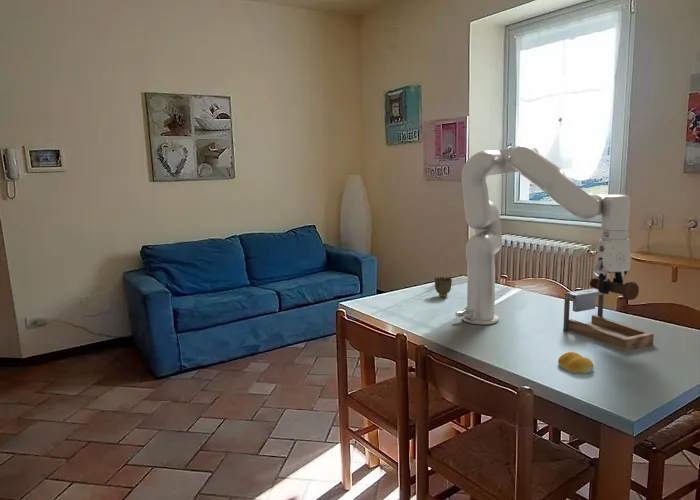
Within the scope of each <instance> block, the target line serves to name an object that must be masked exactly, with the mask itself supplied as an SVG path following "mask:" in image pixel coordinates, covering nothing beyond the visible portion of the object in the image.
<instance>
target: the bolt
mask: <svg viewBox="0 0 700 500" xmlns="http://www.w3.org/2000/svg"><path fill="white" fill-rule="evenodd" d="M608 282H609V293H614V294H619V295H622V296H623V299H624V300H627V301H633V300H635V299H637V297H638V295H639V291H640V289H639V286H638V285H639V284H638V283H636V282H634V281H630V282H625V283H623V284H620V283H616V282H613V281H611V279H610V278H609V279H608ZM599 283H600V280H598V278H597V277H596V278H591V279H590V281H589V286H590V287H591V288H592V289H593V288H594V289H597V290H598V291H599Z"/></svg>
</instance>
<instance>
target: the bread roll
mask: <svg viewBox="0 0 700 500" xmlns="http://www.w3.org/2000/svg"><path fill="white" fill-rule="evenodd" d="M557 363H558V365H559V366H560V368H561V369H563V370H566V371H567V372H569V373H571V374H577V375H578V374H579V375H585V374H586V375H587V374H589V373H592V372H593V370H594V362H593V361H592V360H591V359H590V358H588V357H583V355H581V354H579V353H578V352H576V351H575V352H574V351H569V352H565V353H563V354H562V355H561V356H559V357H558V360H557Z"/></svg>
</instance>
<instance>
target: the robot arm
mask: <svg viewBox="0 0 700 500" xmlns="http://www.w3.org/2000/svg"><path fill="white" fill-rule="evenodd" d="M510 173H511V174H512V173H518V174H520V175H521V176H523V177H524V178H526V179H527V180H528V181H530V182H531V183H533V184H534V185H535V186H536V187H537V188H539V189H541V190H542V191H543V193H545V194H546V195H547V196H549V197H550V198H552V200H553V201H555V203H557V204H558V205H559V206H561V207H562V208H563V209H565V210H566V211H568V212H569V213H571V214H572V215H573V216H575V217H576V218H578V219H580V220H583V221H584V220H585V221H589V220H592V219H594V218H595V217H601V223H600V224H601V225H600V233H599V236H600V239H599V241H598V245H597V250H596V259H595V267H594V268H593V270H592V272H593V274H594V275H595V276H596V278H597V279H598V280H600V283H599V292H600V293H604V295H609V293H610V292H609V282H608V279H609V280H610V276H611V274H614V277H613V278H612V279H613V280H612V282H616V283H620V284H624V280H625V278H626V275H627V274H628V272H629V270H630V269H631V266H632V265H631V264H632V254H631V253H632V252H631V251H632V250H631V242H630V239H629V225H630V211H631V209H630V208H631V197H630V196H629V195H626V194H607V195H606V194H598V193H588V192H586V191H585V190H583V189H582V188H581V187H579V186H578V185H576V184H575V182H572V180H571V179H569V178H568V176H567V175H566V174H565V172H564V170H562V168H560V167H559V166H557V164H555V163H553V162H552V161H550V160H549V159H547V158H546V157H544V156H543V155H542V154H540V153H539V151H538V149H537V148H536V147H535V146H533V145H531V144H530V145H528V144H521V145H517V146H515V147H511V148H501V149H495V150H490V149H487V150H486V149H485V150H480V151H478V152H476V153H474V154H473V155H471V157H469V159H467V160H466V162H465V164H463V168H462V170H461V186H462V194H463V197H462V198H463V205H464V216H465V221H466V224H467V225H468V227H470V228H471V229H473V230H474V232H475V234H473V235H472V236H470V237H469V239H468V240H467V242H466V245H465V255H466V256H465V257H466V263H467V264H466V267H467V271H466V272H467V274H466V276H467V283H466V284H467V287H466V289H467V290H466V292H467V293H466V295H467V298H466V301H467V303H466V304H467V305H466V306H465V307H464V309H463V310H461V311H460V310H459V311H456V312H455V317H456V318H460V317H462V320H463V321H464V322H466V323H469V324H473V325H480V326H481V325H483V326H485V325H487V326H488V325H493V324H496V323H497V322H499V315H497V314H495V303H496V302H495V299H496V296H495V295H496V290H495V288H496V287H495V286H496V267H495V266H496V265H495V255H496V254H498V252H499V251H500V250H501V248H502V244H503V235H502V226H501V218H500V217H501V215H500V212H499V209H498V207H497V205H496V204H495V203H494V202H493V201H491V200H490V197H489V188H488V184H487V177H488V176H495V175H502V174H503V175H504V174H510Z"/></svg>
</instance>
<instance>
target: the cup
mask: <svg viewBox="0 0 700 500" xmlns="http://www.w3.org/2000/svg"><path fill="white" fill-rule="evenodd" d="M433 280H434V281H433V282H434V288H435V289H434V290H435V291H436V293H438V296H439V298H447V297H448V294H449V293H450V292H451V290H452V282H453V278H451V277H450V276H448V277H447V276H445V277H444V276H438V277H436V276H435V277H434V279H433Z"/></svg>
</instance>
